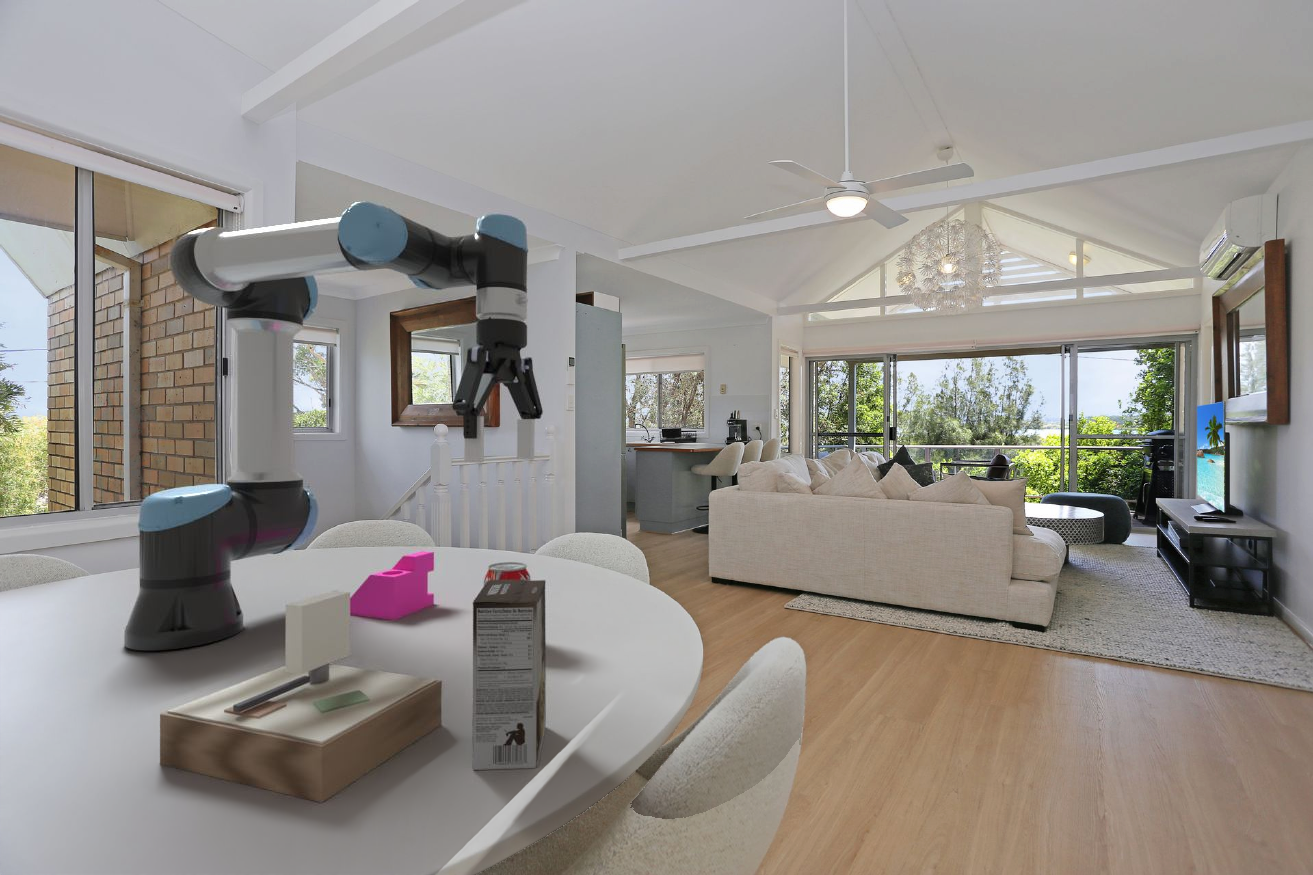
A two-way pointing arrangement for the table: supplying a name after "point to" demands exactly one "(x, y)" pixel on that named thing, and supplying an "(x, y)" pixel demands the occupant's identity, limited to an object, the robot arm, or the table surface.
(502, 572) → the soda can
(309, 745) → the switch box
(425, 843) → the table surface
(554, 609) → the table surface
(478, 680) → the coffee box
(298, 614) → the switch lever
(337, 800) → the table surface
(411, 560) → the bracket
